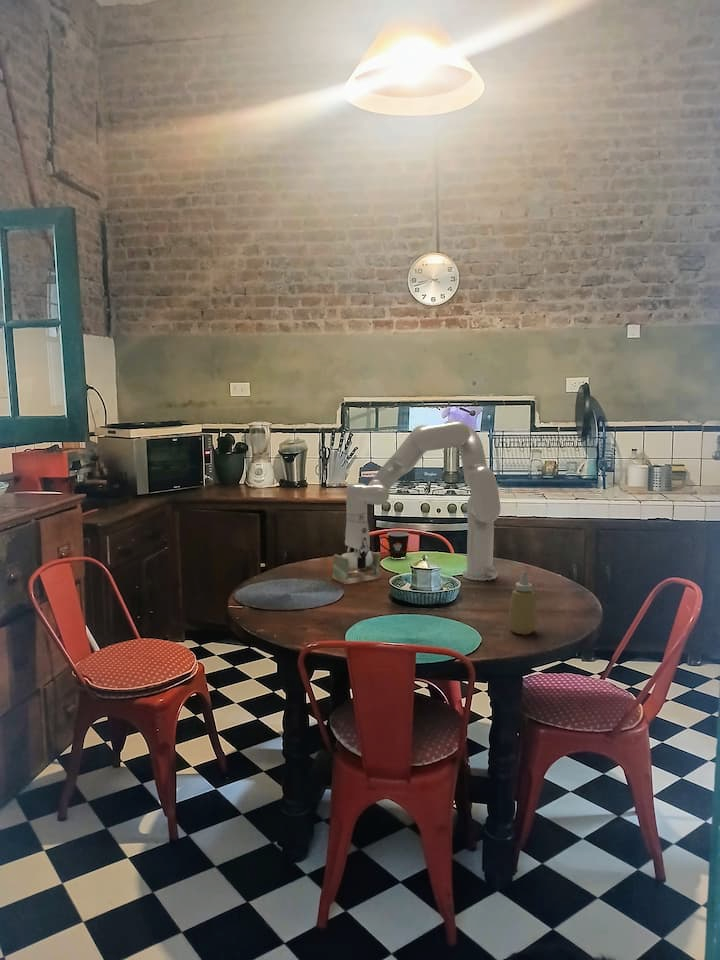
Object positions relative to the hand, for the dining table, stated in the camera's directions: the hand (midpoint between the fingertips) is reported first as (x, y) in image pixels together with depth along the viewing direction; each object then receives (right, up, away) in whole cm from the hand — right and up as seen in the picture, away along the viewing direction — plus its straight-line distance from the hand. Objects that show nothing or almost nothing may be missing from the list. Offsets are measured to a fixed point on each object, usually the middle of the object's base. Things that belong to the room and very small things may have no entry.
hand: (356, 565), depth 271 cm
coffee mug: (+15, -1, +32) cm, 35 cm away
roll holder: (0, -5, +1) cm, 5 cm away
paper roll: (0, -1, 0) cm, 1 cm away
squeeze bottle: (+49, -13, -54) cm, 74 cm away
